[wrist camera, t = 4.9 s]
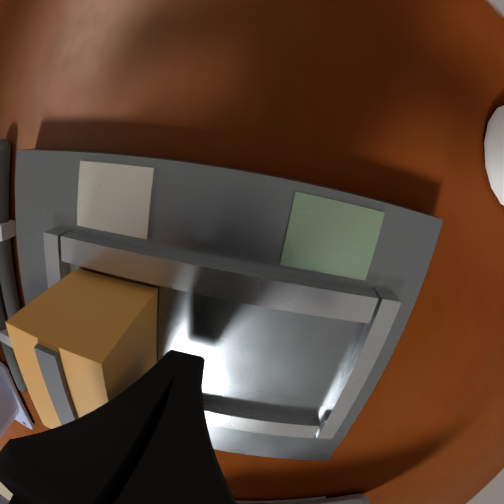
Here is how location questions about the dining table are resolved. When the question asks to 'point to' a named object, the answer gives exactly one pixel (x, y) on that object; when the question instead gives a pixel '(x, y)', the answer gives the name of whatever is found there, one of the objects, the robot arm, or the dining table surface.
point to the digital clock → (318, 500)
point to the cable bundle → (7, 266)
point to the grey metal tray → (238, 280)
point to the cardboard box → (84, 343)
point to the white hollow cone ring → (495, 153)
